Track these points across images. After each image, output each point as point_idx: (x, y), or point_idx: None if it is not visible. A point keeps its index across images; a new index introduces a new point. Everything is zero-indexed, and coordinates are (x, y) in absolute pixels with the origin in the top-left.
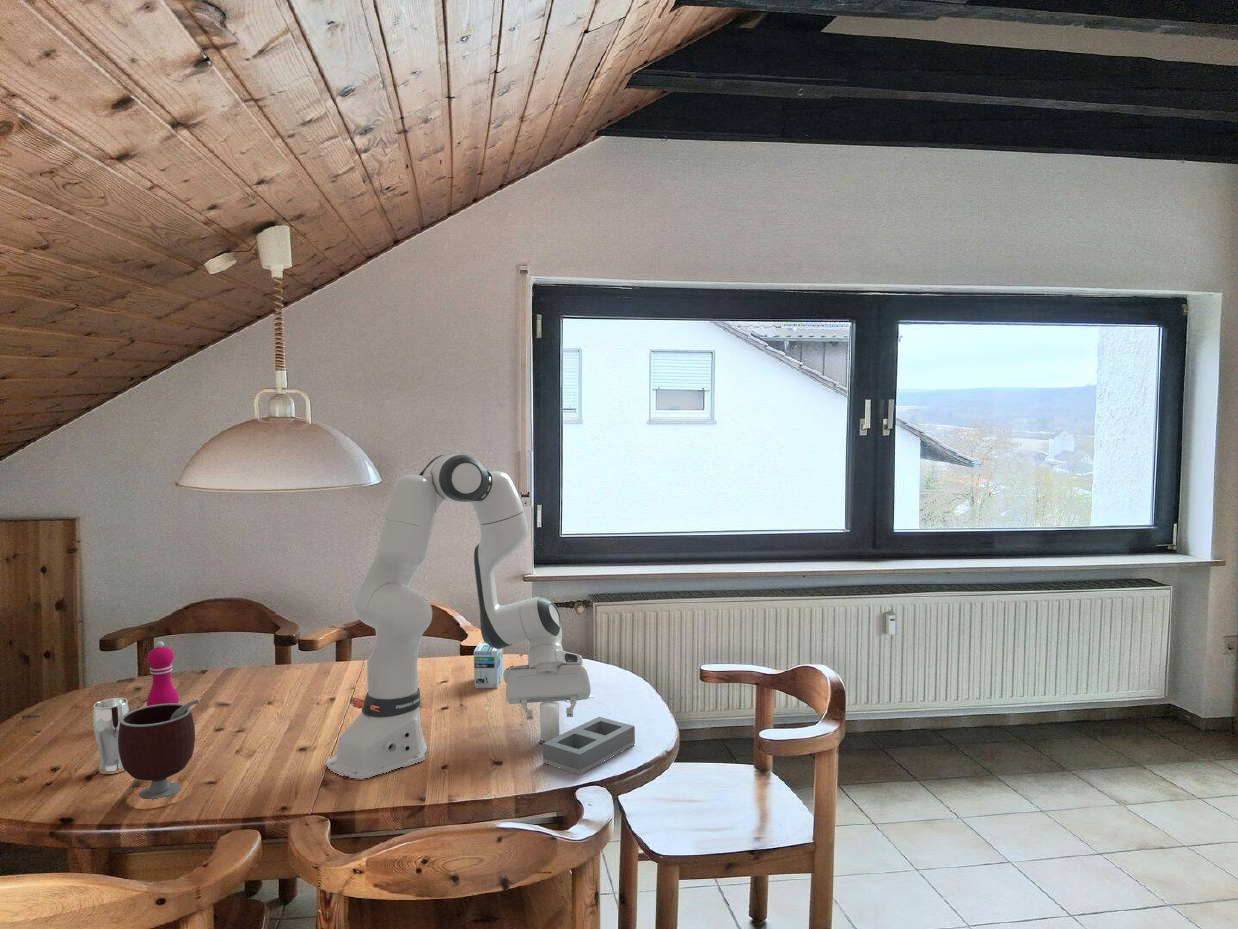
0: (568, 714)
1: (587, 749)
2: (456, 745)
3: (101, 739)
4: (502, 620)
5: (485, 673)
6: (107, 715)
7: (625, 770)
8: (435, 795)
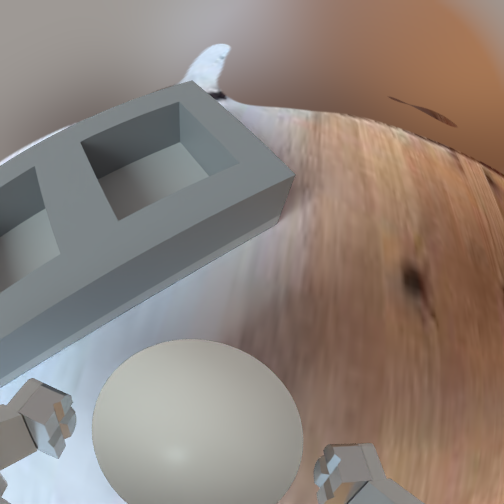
0: (59, 390)
1: (153, 94)
2: (500, 436)
3: None
4: None
5: None
6: None
7: None
8: (480, 181)
